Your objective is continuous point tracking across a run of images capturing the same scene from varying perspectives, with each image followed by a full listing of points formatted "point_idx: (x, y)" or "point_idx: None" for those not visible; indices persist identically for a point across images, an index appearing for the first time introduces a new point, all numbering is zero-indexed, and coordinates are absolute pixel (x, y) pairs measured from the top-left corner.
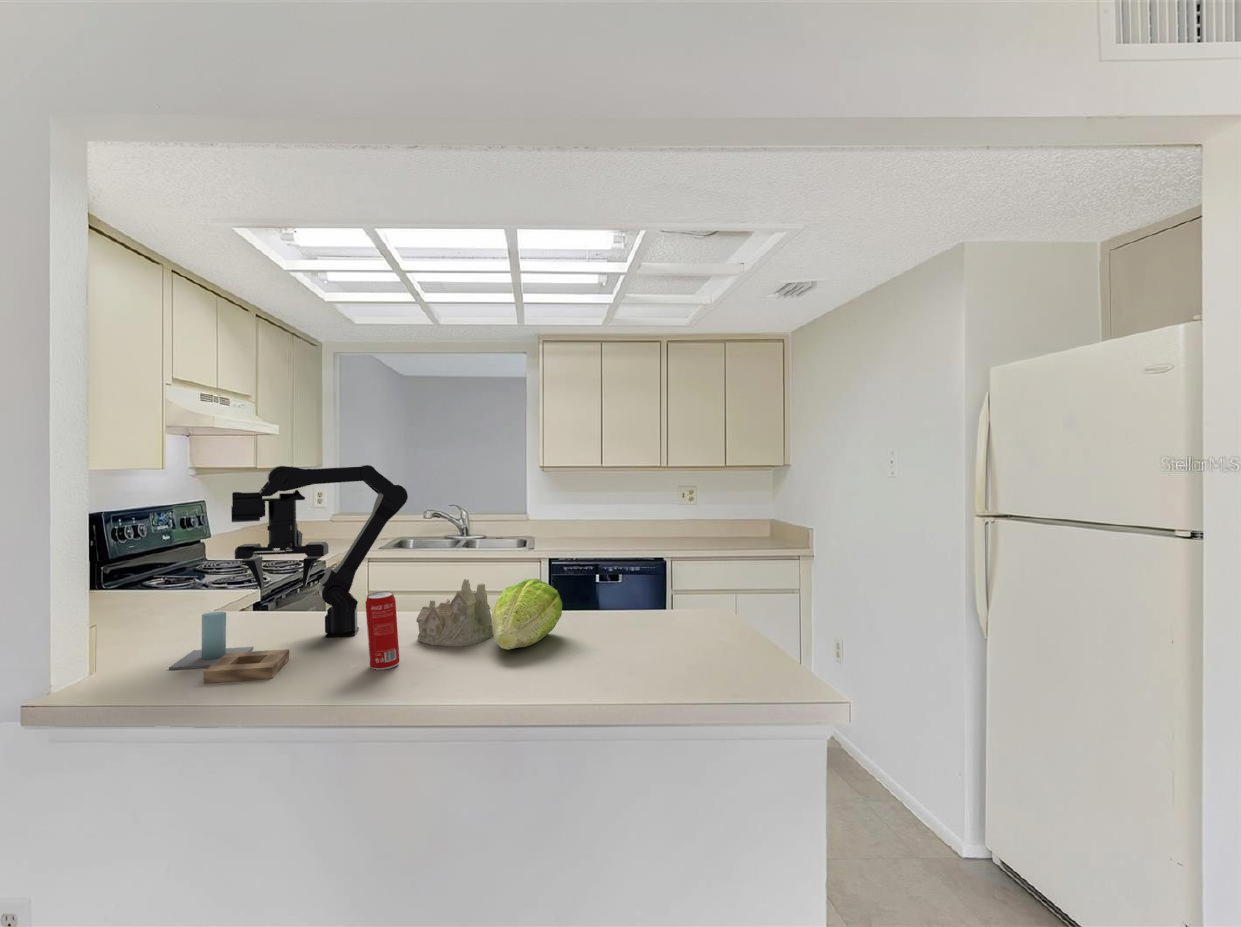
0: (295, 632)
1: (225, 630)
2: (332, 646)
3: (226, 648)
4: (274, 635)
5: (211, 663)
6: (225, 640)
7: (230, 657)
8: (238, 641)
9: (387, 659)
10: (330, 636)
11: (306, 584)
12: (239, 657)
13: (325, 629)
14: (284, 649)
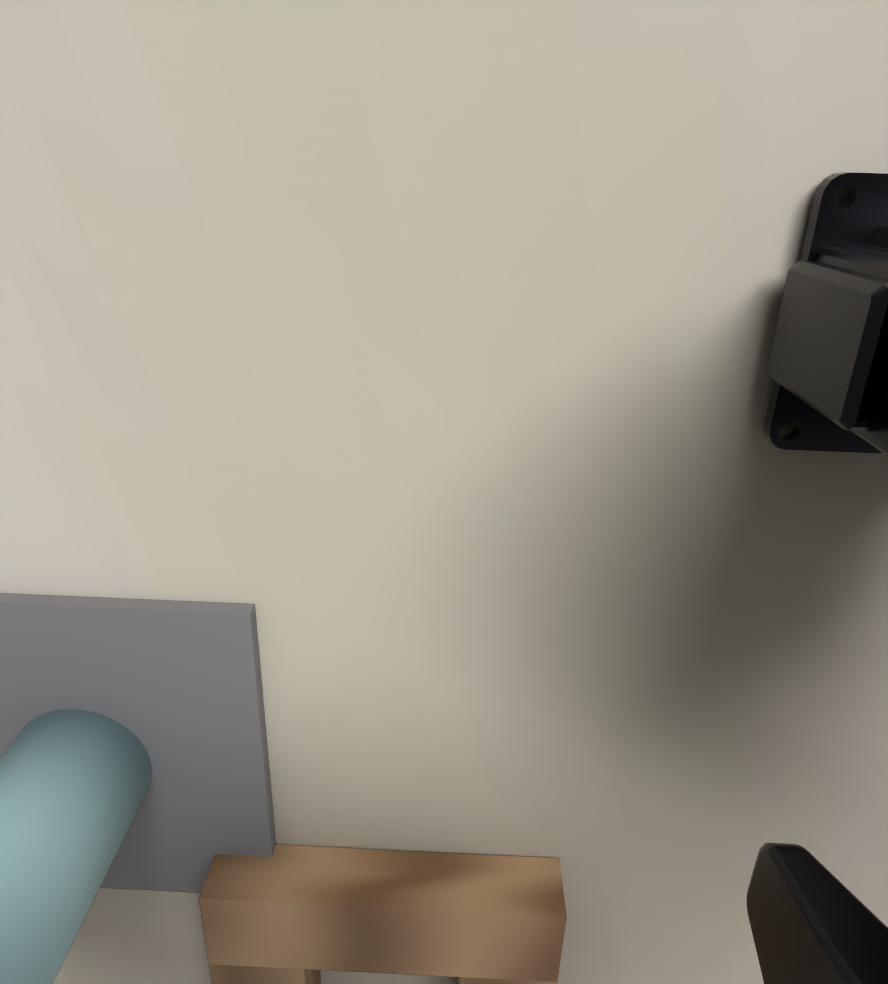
0: (454, 133)
1: (73, 919)
2: (809, 672)
3: (69, 614)
4: (273, 210)
5: (146, 872)
6: (108, 846)
7: (263, 973)
8: (26, 352)
9: None
10: (806, 445)
11: (820, 881)
12: (309, 965)
13: (784, 386)
14: (537, 916)
